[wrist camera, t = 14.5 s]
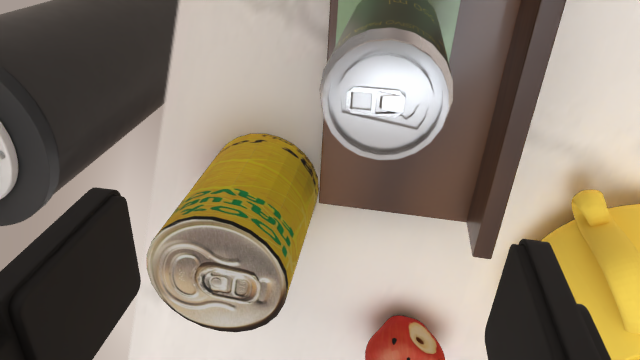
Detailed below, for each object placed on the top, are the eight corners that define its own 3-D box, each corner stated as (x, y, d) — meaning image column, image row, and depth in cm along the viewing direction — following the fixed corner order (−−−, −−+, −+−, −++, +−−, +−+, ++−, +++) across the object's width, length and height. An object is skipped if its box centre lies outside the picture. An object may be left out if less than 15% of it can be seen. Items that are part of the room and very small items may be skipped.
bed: (325, 180, 39) (309, 234, 33) (344, -107, 29) (325, -110, 23) (477, 199, 38) (491, 259, 31) (551, -96, 28) (594, -95, 21)
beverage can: (209, 127, 39) (136, 209, 28) (321, 140, 38) (288, 230, 27) (216, 220, 43) (155, 320, 33) (316, 234, 42) (285, 341, 32)
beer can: (345, 72, 31) (313, 158, 21) (351, -19, 28) (317, 28, 18) (431, 79, 30) (443, 171, 20) (446, -13, 27) (467, 39, 17)
